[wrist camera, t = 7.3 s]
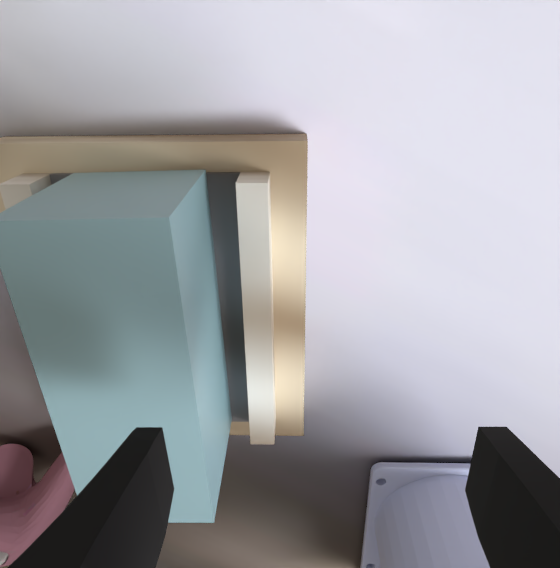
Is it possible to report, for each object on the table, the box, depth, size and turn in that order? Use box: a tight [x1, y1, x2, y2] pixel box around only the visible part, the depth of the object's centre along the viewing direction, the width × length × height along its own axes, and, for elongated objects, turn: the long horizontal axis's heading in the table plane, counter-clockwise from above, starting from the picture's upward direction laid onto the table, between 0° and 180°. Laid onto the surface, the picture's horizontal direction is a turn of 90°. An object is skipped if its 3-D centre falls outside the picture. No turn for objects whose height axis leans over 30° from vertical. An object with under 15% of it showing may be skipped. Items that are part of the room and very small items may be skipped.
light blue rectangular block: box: [0, 169, 232, 523], centre depth 16 cm, size 11×4×5 cm, turn 2°
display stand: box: [0, 134, 308, 445], centre depth 18 cm, size 13×11×3 cm
